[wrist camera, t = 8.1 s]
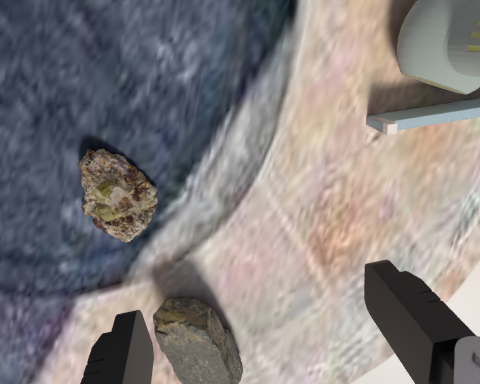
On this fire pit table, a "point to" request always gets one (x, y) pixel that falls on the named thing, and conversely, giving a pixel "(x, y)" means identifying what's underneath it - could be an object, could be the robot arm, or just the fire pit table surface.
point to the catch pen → (424, 116)
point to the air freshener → (442, 44)
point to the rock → (197, 343)
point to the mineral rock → (116, 194)
